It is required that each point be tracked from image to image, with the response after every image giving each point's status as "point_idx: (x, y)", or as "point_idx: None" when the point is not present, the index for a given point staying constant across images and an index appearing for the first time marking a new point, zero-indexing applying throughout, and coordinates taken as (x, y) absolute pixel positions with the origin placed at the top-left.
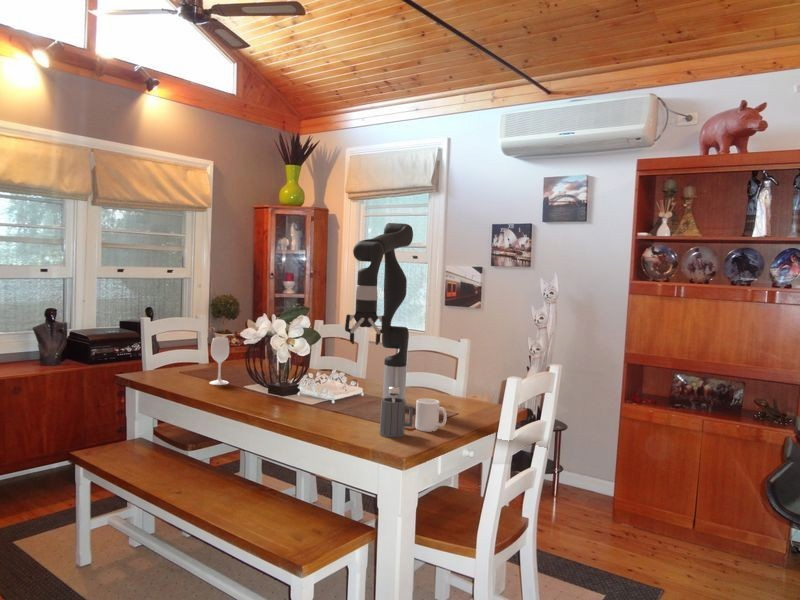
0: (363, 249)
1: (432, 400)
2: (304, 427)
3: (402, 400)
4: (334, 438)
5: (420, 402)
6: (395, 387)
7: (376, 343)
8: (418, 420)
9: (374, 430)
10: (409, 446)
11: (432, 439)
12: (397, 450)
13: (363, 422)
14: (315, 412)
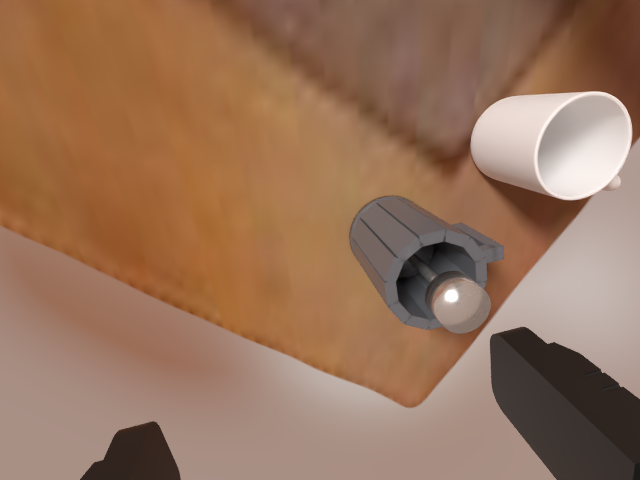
0: None
1: (608, 101)
2: (70, 228)
3: (473, 265)
4: (215, 318)
5: (545, 187)
6: (471, 308)
7: (508, 410)
8: (494, 172)
9: (329, 203)
10: (433, 330)
11: (504, 254)
12: (401, 367)
13: (277, 103)
14: None
